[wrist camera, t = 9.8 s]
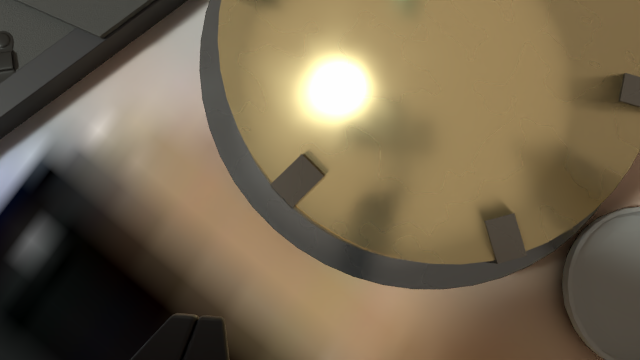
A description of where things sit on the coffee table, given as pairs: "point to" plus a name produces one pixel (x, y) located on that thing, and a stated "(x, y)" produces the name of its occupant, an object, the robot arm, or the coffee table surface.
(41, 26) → the picture frame
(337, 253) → the dark grey round disc
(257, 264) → the coffee table surface
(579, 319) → the pocket watch
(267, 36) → the tan round piece
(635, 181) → the coffee table surface
